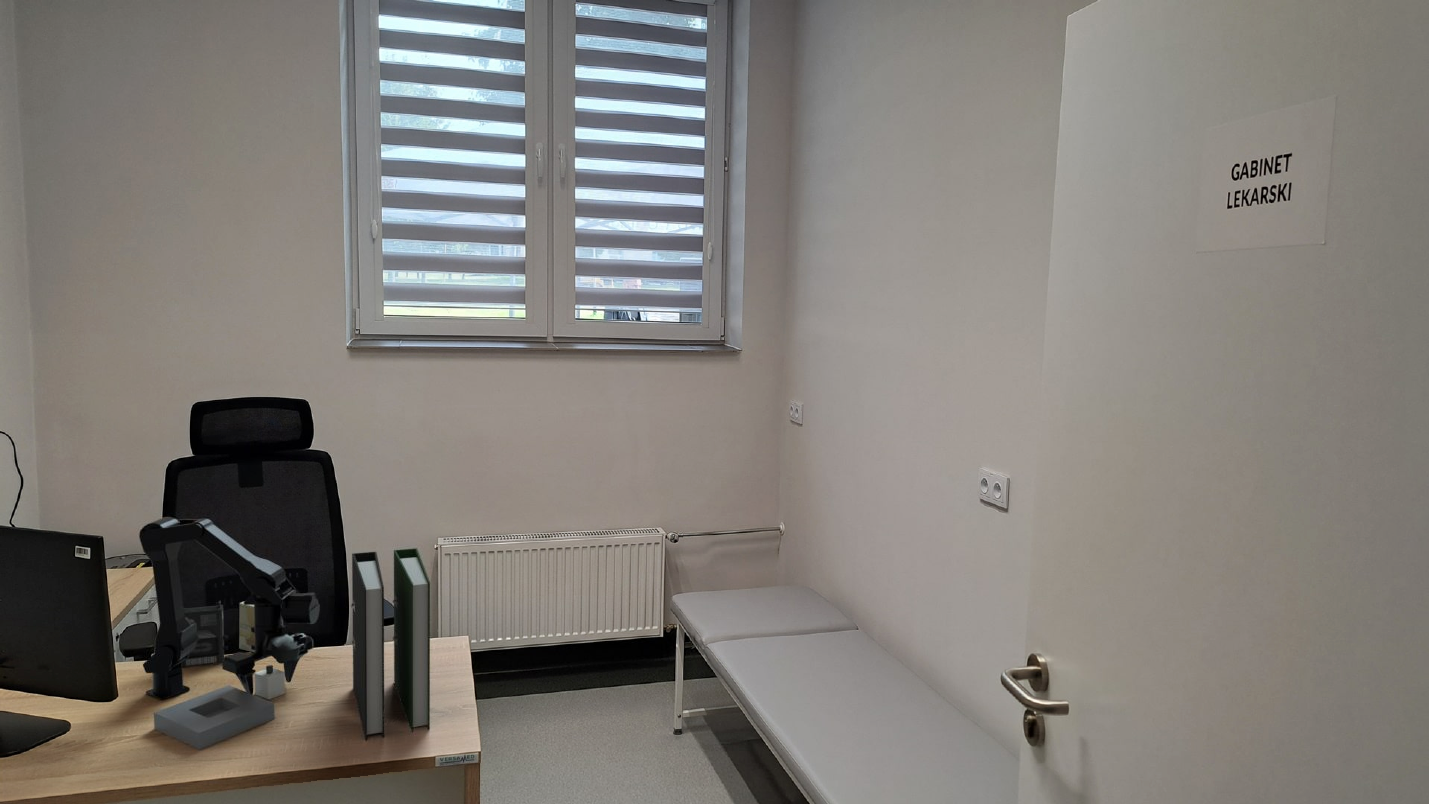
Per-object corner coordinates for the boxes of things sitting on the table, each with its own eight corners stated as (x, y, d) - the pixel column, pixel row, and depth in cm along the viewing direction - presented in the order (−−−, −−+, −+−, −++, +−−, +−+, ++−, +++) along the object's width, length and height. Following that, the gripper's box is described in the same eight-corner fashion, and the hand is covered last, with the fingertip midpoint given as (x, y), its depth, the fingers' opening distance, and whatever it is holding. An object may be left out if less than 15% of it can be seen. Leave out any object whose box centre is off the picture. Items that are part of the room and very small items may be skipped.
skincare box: (238, 649, 224) (237, 602, 223) (253, 643, 228) (252, 597, 227) (257, 653, 221) (256, 606, 220) (271, 647, 225) (270, 601, 224)
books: (433, 729, 185) (433, 581, 182) (357, 741, 179) (356, 589, 176) (417, 679, 210) (417, 548, 206) (349, 688, 203) (348, 553, 200)
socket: (154, 728, 181) (153, 712, 181) (229, 700, 195) (229, 685, 195) (199, 749, 174) (199, 732, 173) (274, 718, 187) (274, 703, 187)
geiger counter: (229, 656, 219) (227, 597, 218) (227, 662, 215) (225, 603, 214) (180, 661, 215) (178, 601, 214) (177, 668, 211) (175, 607, 210)
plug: (254, 694, 199) (254, 666, 198) (271, 688, 202) (270, 660, 202) (268, 699, 196) (268, 671, 196) (285, 693, 200) (284, 665, 199)
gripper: (251, 642, 186) (252, 713, 187) (328, 617, 202) (329, 683, 203) (219, 632, 191) (221, 700, 193) (297, 608, 207) (298, 672, 209)
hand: (269, 689), depth 199 cm, fingers open, 9 cm apart
